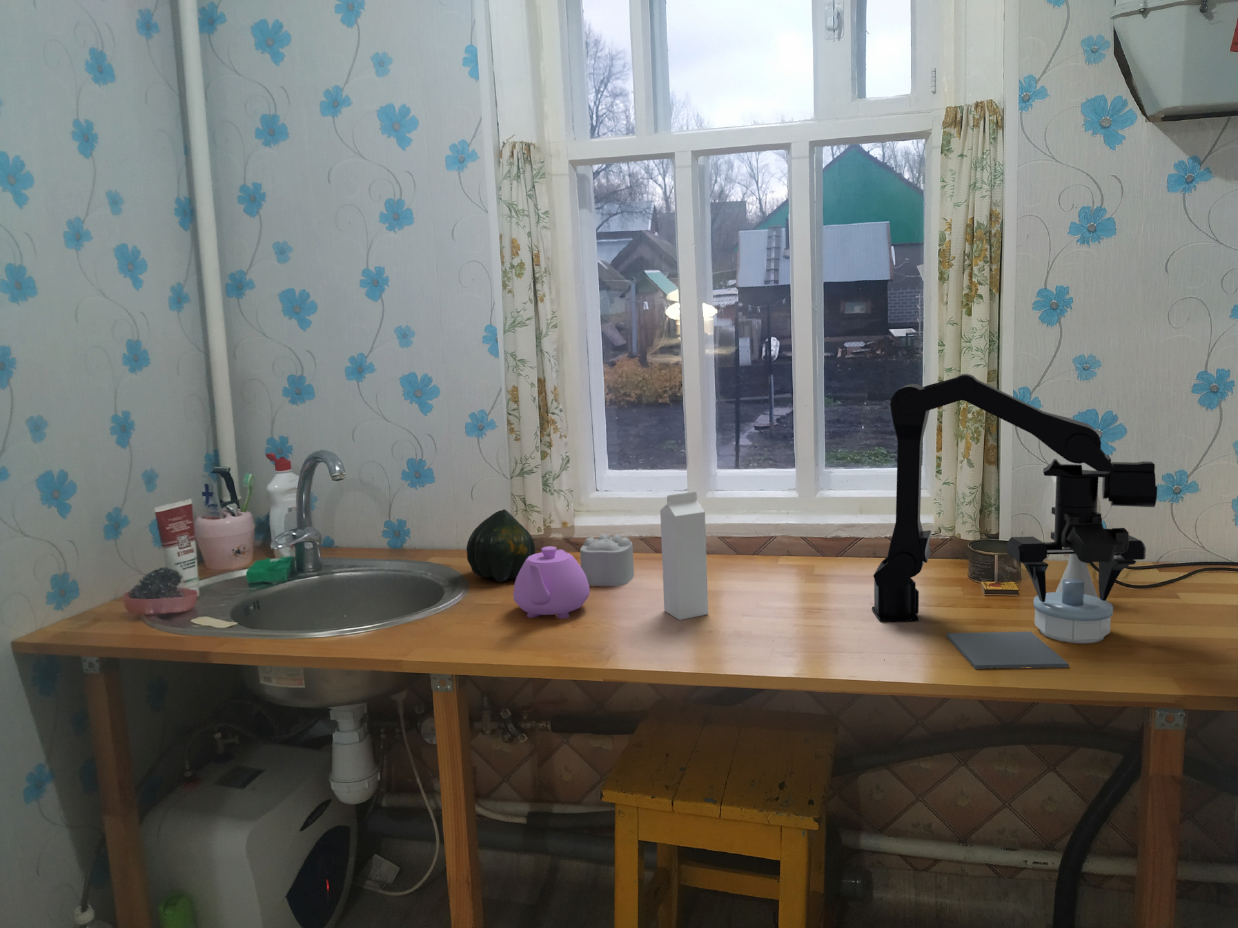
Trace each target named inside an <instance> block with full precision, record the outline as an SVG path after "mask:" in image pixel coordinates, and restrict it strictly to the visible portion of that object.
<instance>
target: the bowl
mask: <svg viewBox="0 0 1238 928" xmlns="http://www.w3.org/2000/svg"><path fill="white" fill-rule="evenodd" d="M1111 619H1112V616H1111V617H1109V618H1106V619H1103V620H1095V621H1078V620H1068V619H1062V618H1057V617H1053V616H1049V615H1046V614H1043V613H1041V612H1039V611H1038V610H1036V609H1035V608H1034V626H1036V628H1038V629H1039V631H1040V633H1041V634H1042V635H1043V636H1045V637H1047V638H1049V639H1052V640H1056V641H1059V642H1064V643H1069V644H1084V645H1085V644H1094V643H1095V644H1096V643H1099V642H1102V641H1103V640H1104V639H1105V636H1107V635H1108V634H1110V633H1111Z"/></svg>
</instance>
